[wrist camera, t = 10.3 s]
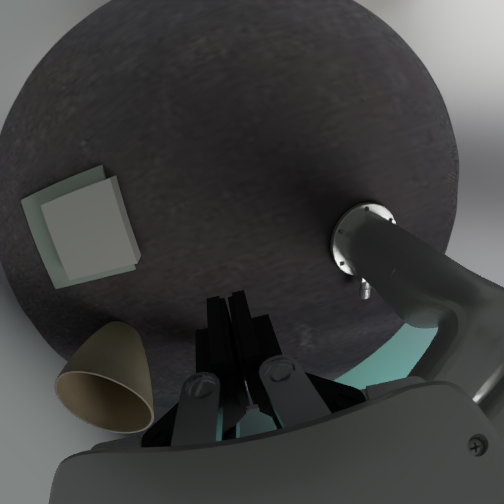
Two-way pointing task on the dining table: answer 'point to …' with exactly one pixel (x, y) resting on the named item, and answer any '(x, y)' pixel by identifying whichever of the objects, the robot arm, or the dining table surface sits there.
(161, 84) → the dining table surface
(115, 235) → the tile
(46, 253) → the mat
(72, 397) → the plant pot
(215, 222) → the dining table surface
